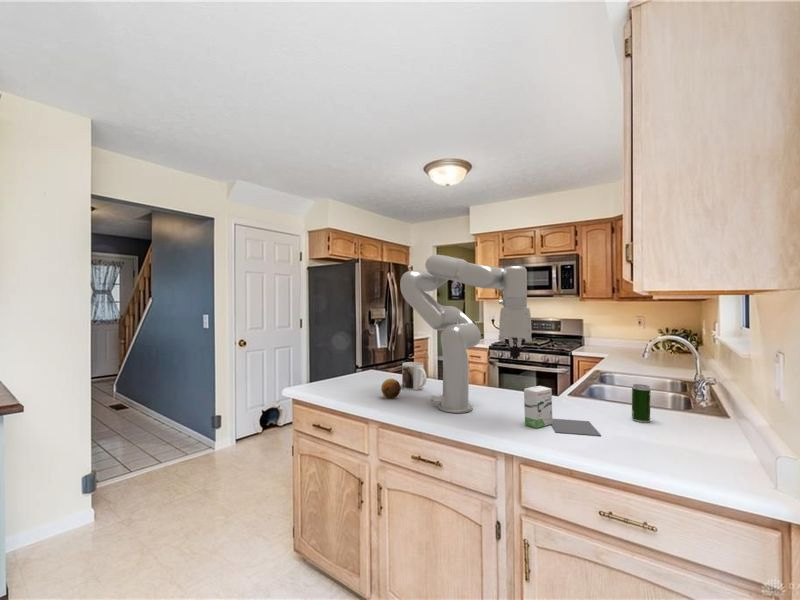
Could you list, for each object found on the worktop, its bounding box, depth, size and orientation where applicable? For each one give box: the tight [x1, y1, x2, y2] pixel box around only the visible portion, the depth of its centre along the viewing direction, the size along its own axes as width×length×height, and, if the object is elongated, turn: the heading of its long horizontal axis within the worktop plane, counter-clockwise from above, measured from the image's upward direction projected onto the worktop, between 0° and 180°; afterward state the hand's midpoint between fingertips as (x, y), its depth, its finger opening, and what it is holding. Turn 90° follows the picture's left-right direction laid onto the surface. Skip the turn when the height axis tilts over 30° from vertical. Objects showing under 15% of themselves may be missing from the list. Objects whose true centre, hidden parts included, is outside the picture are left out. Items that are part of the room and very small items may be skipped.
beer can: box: [631, 383, 652, 424], centre depth 132 cm, size 5×5×12 cm
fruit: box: [380, 378, 402, 400], centre depth 159 cm, size 8×8×8 cm
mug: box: [401, 361, 427, 391], centre depth 177 cm, size 10×12×11 cm
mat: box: [550, 418, 602, 437], centre depth 125 cm, size 13×14×1 cm
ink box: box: [523, 385, 553, 429], centre depth 127 cm, size 9×5×12 cm, turn 123°
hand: (514, 358), depth 128 cm, fingers closed
